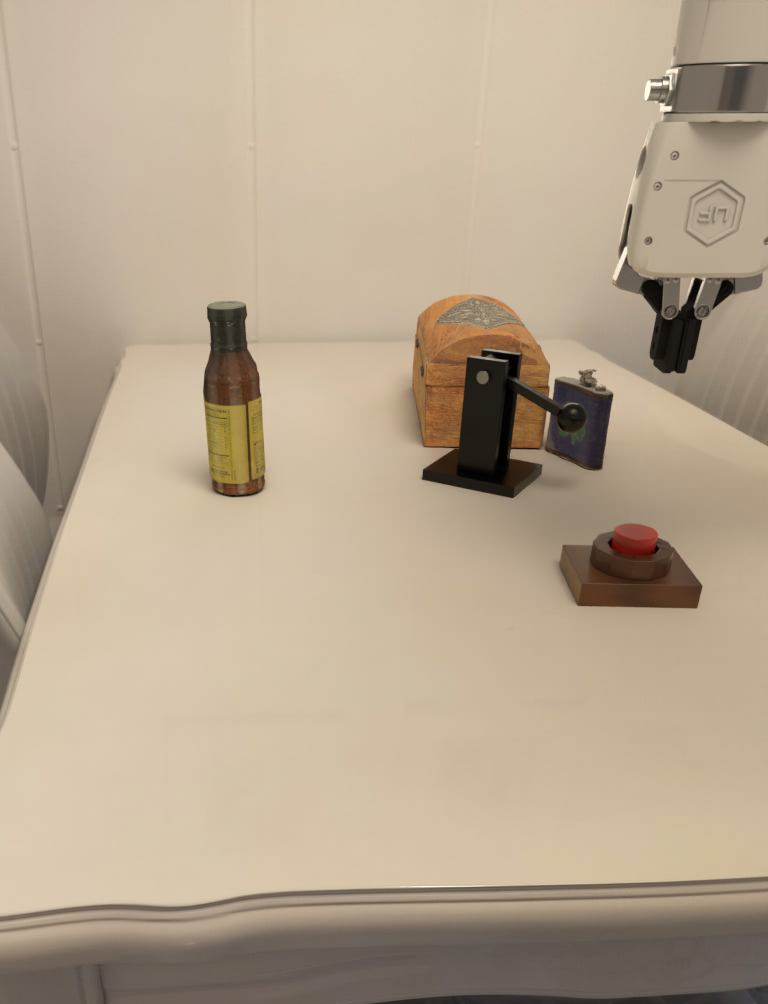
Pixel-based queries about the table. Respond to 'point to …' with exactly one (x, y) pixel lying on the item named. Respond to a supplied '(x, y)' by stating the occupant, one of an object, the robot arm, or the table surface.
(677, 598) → the button block
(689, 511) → the table surface
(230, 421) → the sauce bottle
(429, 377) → the wooden box
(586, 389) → the flask
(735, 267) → the robot arm
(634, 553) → the button
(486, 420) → the bracket
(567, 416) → the lever
